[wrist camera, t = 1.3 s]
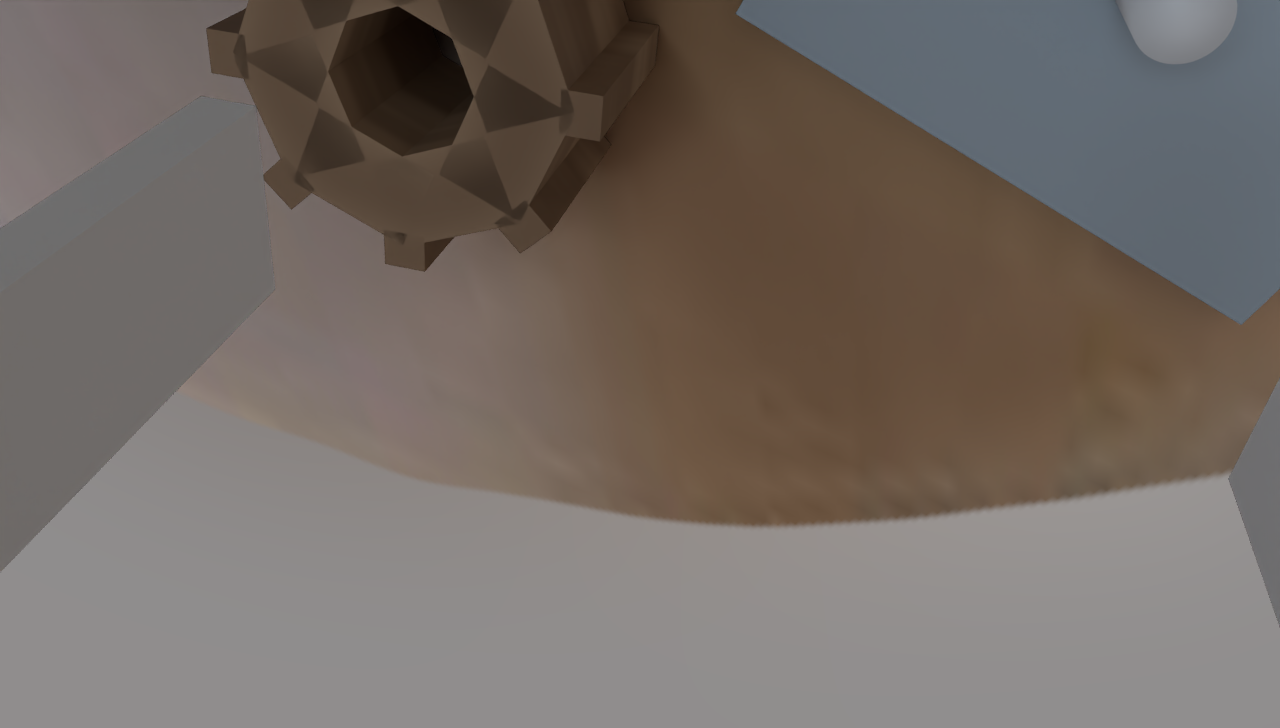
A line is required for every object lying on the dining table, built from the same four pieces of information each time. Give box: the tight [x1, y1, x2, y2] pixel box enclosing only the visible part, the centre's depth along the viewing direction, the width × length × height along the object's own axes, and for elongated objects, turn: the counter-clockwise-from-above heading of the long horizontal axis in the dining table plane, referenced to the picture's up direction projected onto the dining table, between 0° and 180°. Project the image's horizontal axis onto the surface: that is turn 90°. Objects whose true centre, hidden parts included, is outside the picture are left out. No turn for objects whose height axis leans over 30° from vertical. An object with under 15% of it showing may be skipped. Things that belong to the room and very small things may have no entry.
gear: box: [206, 0, 659, 272], centre depth 29 cm, size 10×10×6 cm
